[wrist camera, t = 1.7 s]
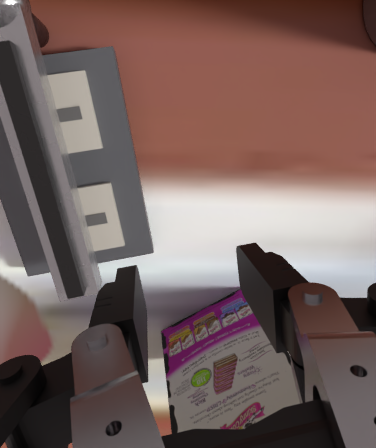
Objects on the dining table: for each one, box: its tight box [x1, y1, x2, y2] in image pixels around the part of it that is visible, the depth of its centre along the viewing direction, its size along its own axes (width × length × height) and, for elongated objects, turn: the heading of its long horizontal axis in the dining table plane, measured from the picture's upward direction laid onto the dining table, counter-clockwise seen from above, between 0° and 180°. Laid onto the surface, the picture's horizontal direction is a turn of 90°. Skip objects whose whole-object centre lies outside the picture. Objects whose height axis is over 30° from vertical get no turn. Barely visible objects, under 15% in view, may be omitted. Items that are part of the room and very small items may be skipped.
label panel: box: [0, 46, 154, 276], centre depth 27 cm, size 12×18×3 cm, turn 8°
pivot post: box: [32, 13, 49, 48], centre depth 22 cm, size 2×2×6 cm
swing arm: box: [0, 0, 102, 301], centre depth 21 cm, size 22×3×3 cm, turn 8°
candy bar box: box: [161, 289, 300, 434], centre depth 28 cm, size 11×5×16 cm, turn 117°
